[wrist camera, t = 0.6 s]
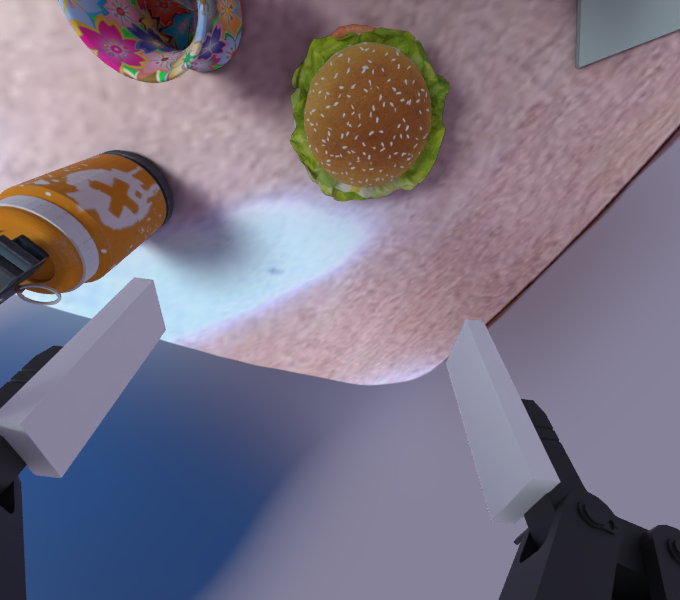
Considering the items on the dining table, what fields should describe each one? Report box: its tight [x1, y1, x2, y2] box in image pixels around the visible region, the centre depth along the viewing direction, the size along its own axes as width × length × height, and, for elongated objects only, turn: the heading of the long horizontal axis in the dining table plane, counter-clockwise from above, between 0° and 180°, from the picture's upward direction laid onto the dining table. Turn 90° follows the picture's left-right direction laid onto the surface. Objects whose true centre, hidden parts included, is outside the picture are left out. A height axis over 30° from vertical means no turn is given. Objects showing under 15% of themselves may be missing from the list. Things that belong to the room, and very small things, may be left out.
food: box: [290, 24, 450, 201], centre depth 30 cm, size 14×14×8 cm
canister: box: [0, 150, 173, 305], centre depth 30 cm, size 9×11×20 cm
